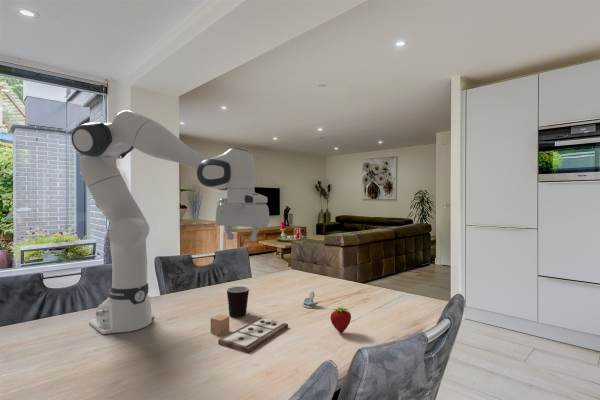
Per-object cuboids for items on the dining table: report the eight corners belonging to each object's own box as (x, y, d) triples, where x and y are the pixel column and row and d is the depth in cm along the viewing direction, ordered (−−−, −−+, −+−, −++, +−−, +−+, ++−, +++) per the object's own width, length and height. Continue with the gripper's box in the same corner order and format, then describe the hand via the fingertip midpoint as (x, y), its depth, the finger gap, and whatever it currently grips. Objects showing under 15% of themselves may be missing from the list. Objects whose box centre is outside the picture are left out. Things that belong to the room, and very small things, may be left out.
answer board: (218, 343, 98) (218, 338, 98) (260, 320, 117) (260, 316, 117) (248, 353, 92) (248, 347, 92) (287, 327, 111) (287, 322, 111)
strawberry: (326, 331, 108) (326, 302, 108) (344, 328, 111) (345, 299, 111) (336, 338, 102) (336, 307, 102) (354, 334, 106) (355, 304, 106)
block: (210, 333, 106) (210, 318, 106) (219, 328, 110) (219, 314, 110) (220, 335, 104) (220, 320, 104) (229, 331, 108) (229, 316, 108)
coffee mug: (243, 319, 118) (244, 293, 118) (222, 317, 120) (222, 291, 120) (254, 309, 130) (254, 285, 130) (234, 307, 131) (235, 283, 131)
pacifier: (307, 310, 130) (319, 307, 133) (307, 295, 130) (319, 292, 133) (299, 305, 136) (311, 302, 139) (299, 290, 136) (311, 288, 139)
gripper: (210, 198, 105) (211, 239, 105) (259, 197, 95) (260, 243, 95) (224, 198, 111) (224, 237, 111) (271, 197, 100) (272, 240, 100)
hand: (241, 240), depth 103 cm, fingers open, 8 cm apart
